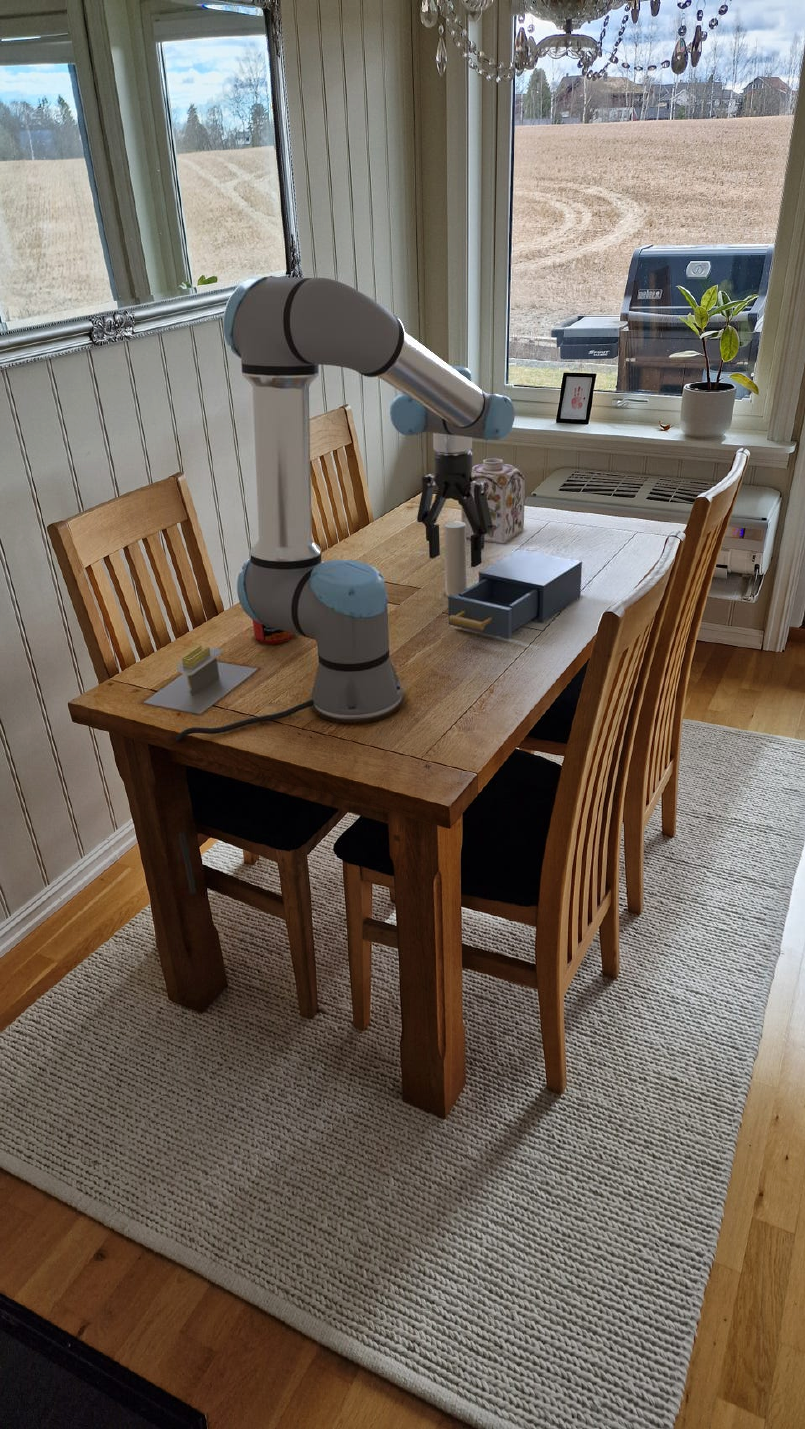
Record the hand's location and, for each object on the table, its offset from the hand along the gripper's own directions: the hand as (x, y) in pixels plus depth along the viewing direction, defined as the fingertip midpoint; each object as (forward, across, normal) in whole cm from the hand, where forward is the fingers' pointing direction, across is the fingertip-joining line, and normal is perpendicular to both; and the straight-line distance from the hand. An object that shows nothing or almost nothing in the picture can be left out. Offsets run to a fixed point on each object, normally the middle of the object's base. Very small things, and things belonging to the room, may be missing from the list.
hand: (455, 560), depth 198 cm
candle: (+7, 0, 0) cm, 7 cm away
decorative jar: (+8, +14, -37) cm, 40 cm away
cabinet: (+7, -16, -4) cm, 18 cm away
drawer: (+6, -15, +11) cm, 20 cm away
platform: (+8, +15, +58) cm, 60 cm away
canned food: (+8, +18, +36) cm, 41 cm away
